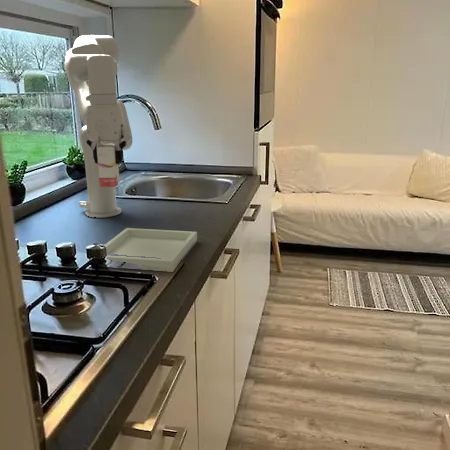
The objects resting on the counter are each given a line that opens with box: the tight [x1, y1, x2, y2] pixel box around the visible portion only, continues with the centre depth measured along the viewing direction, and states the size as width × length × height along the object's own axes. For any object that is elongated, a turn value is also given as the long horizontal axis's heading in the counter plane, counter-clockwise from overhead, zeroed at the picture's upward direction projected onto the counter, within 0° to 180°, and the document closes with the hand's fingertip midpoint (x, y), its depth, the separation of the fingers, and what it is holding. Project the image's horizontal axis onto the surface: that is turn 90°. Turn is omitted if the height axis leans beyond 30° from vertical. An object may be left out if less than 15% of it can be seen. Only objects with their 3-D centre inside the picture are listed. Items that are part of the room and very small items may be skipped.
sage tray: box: [103, 227, 198, 269], centre depth 132 cm, size 22×24×3 cm
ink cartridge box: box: [97, 136, 121, 188], centre depth 142 cm, size 9×5×15 cm, turn 5°
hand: (108, 162), depth 142 cm, fingers closed on ink cartridge box, 5 cm apart
